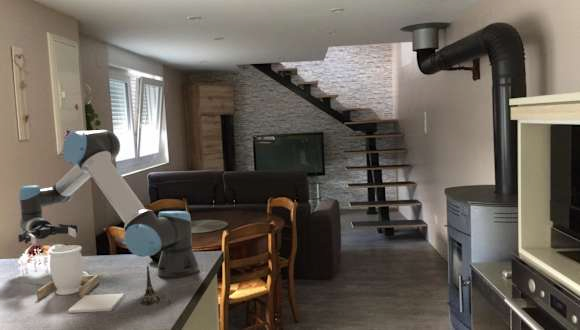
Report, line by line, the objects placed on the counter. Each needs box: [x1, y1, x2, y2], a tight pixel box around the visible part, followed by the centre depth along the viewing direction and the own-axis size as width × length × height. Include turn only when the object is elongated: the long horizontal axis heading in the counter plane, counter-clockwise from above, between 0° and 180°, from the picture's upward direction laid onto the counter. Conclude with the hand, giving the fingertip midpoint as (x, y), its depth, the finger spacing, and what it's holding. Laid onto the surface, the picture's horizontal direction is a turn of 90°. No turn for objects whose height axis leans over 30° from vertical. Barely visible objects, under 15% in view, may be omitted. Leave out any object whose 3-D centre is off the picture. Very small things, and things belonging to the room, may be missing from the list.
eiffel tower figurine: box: [131, 262, 175, 307], centre depth 160 cm, size 15×10×13 cm
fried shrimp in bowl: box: [148, 251, 161, 264], centre depth 212 cm, size 9×11×18 cm
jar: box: [48, 244, 84, 296], centre depth 175 cm, size 11×10×15 cm
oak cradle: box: [36, 274, 101, 300], centre depth 176 cm, size 15×15×3 cm
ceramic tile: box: [67, 293, 125, 314], centre depth 162 cm, size 13×13×1 cm
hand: (55, 236), depth 182 cm, fingers open, 13 cm apart
